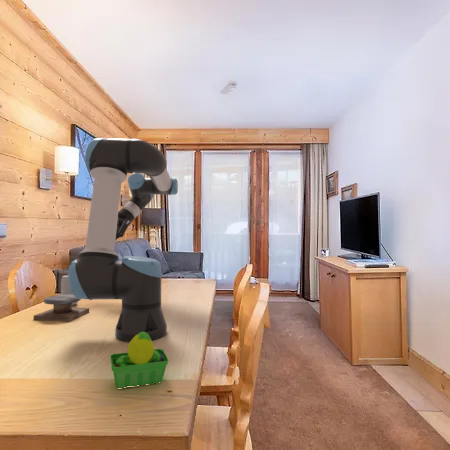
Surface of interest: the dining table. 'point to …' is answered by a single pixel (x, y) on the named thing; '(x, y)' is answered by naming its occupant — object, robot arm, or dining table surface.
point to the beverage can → (66, 287)
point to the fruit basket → (139, 363)
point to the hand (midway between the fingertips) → (97, 246)
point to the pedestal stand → (61, 309)
